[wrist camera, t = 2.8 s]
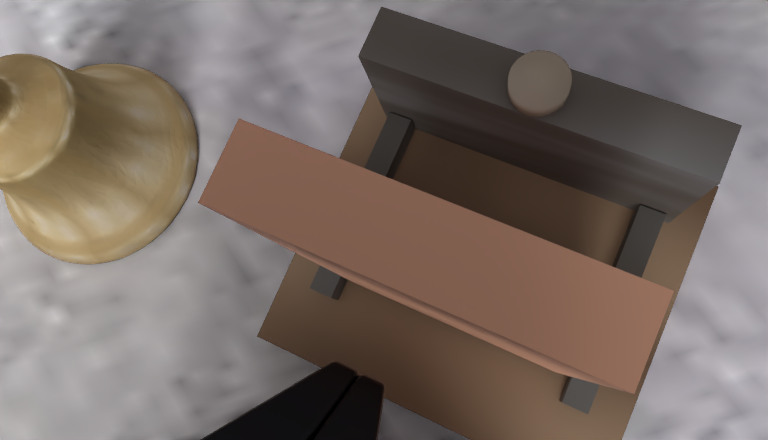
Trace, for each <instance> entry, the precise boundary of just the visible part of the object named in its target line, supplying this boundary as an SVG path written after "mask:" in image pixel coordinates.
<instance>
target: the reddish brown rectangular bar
mask: <svg viewBox="0 0 768 440" xmlns="http://www.w3.org/2000/svg"><path fill="white" fill-rule="evenodd" d="M198 203H200V204H202V205H204V206H206V207H208V208H210V209H211V210H213V211H215V212H217V213H219V214H221V215H223V216H225V217H227V218H229V219H231V220H233V221H235V222H237V223H239V224H241V225H243V226H245V227H246V228H248V229H250V230H252V231H254V232H256V233H258V234H260V235H262V236H264V237H266V238H268V239H270V240H272V241H274V242H276V243H278V244H280V245H281V246H283V247H285V248H287V249H289V250H291V251H293V252H295V253H297V254H299V255H301V256H303V257H305V258H307V259H309V260H311V261H313V262H315V263H316V264H318V265H320V266H322V267H324V268H326V269H328V270H330V271H332V272H334V273H336V274H338V275H340V276H342V277H344V278H346V279H348V280H350V281H351V282H353V283H355V284H358V285H360V286H362V287H364V288H367V289H369V290H371V291H373V292H376V293H378V294H380V295H382V296H385V297H387V298H389V299H391V300H394V301H396V302H398V303H400V304H403V305H405V306H407V307H409V308H412V309H414V310H416V311H418V312H421V313H423V314H425V315H427V316H430V317H432V318H434V319H436V320H439V321H441V322H443V323H445V324H448V325H450V326H452V327H454V328H457V329H459V330H461V331H463V332H466V333H468V334H470V335H472V336H475V337H477V338H479V339H482V340H484V341H486V342H488V343H491V344H493V345H495V346H497V347H500V348H502V349H504V350H506V351H509V352H511V353H513V354H515V355H518V356H520V357H522V358H524V359H527V360H529V361H531V362H533V363H536V364H538V365H540V366H542V367H545V368H547V369H549V370H551V371H554V372H556V373H559V374H563V375H567V376H570V377H574V378H577V379H581V380H585V381H588V382H592V383H596V384H599V385H603V386H607V387H610V388H614V389H618V390H621V391H625V392H628V393H632V394H635V391H636V389H637V386H638V383H639V381H640V378H641V376H642V373H643V370H644V368H645V365H646V363H647V360H648V357H649V355H650V352H651V350H652V347H653V344H654V342H655V339H656V337H657V334H658V331H659V329H660V326H661V323H662V321H663V318H664V316H665V313H666V310H667V308H668V305H669V303H670V300H671V297H672V295H673V292H674V291H673V290H670V289H668V288H665V287H663V286H660V285H658V284H655V283H653V282H650V281H648V280H645V279H643V278H640V277H638V276H635V275H633V274H630V273H628V272H625V271H623V270H620V269H617V268H615V267H612V266H610V265H607V264H605V263H602V262H600V261H597V260H595V259H592V258H590V257H587V256H585V255H582V254H580V253H577V252H575V251H572V250H570V249H567V248H564V247H562V246H559V245H557V244H554V243H552V242H549V241H547V240H544V239H542V238H539V237H537V236H534V235H532V234H529V233H527V232H524V231H522V230H519V229H516V228H514V227H511V226H509V225H506V224H504V223H501V222H499V221H496V220H494V219H491V218H489V217H486V216H484V215H481V214H479V213H476V212H474V211H471V210H469V209H466V208H463V207H461V206H458V205H456V204H453V203H451V202H448V201H446V200H443V199H441V198H438V197H436V196H433V195H431V194H428V193H426V192H423V191H421V190H418V189H416V188H413V187H410V186H408V185H405V184H403V183H400V182H398V181H395V180H393V179H390V178H388V177H385V176H383V175H380V174H378V173H375V172H373V171H370V170H368V169H365V168H362V167H360V166H357V165H355V164H352V163H350V162H347V161H345V160H342V159H340V158H337V157H335V156H332V155H330V154H327V153H325V152H322V151H320V150H317V149H315V148H312V147H309V146H307V145H304V144H302V143H299V142H297V141H294V140H292V139H289V138H287V137H284V136H282V135H279V134H277V133H274V132H272V131H269V130H267V129H264V128H262V127H259V126H256V125H254V124H251V123H249V122H246V121H244V120H241V119H238V122H237V124H236V126H235V128H234V130H233V132H232V134H231V136H230V138H229V140H228V142H227V144H226V146H225V148H224V150H223V152H222V154H221V156H220V159H219V161H218V163H217V165H216V167H215V169H214V171H213V173H212V175H211V177H210V179H209V181H208V183H207V185H206V187H205V189H204V191H203V194H202V196H201V198H200V200H199V202H198Z"/></svg>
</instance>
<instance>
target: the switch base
mask: <svg viewBox="0 0 768 440" xmlns="http://www.w3.org/2000/svg"><path fill="white" fill-rule="evenodd" d="M359 58H360V61H361V63H362V65H363V67H364V69H365V71H366V74H367V76H368V78H369V80H370V82H371V84H372V89H371V91H370V93H369V95H368V97H367V99H366V102H365V104H364V106H363V108H362V110H361V112H360V115H359V117H358V119H357V121H356V123H355V125H354V128H353V130H352V132H351V134H350V136H349V138H348V141H347V143H346V145H345V147H344V149H343V151H342V154H341V156H340V159H342V160H345V161H347V162H350V163H352V164H355V165H357V166H360V167H362V168H365V169H368V170H370V171H373V172H375V173H378V174H380V175H383V176H385V177H388V178H390V179H393V180H395V181H398V182H400V183H403V184H405V185H408V186H410V187H413V188H416V189H418V190H421V191H423V192H426V193H428V194H431V195H433V196H436V197H438V198H441V199H443V200H446V201H448V202H451V203H453V204H456V205H458V206H461V207H463V208H466V209H469V210H471V211H474V212H476V213H479V214H481V215H484V216H486V217H489V218H491V219H494V220H496V221H499V222H501V223H504V224H506V225H509V226H511V227H514V228H516V229H519V230H522V231H524V232H527V233H529V234H532V235H534V236H537V237H539V238H542V239H544V240H547V241H549V242H552V243H554V244H557V245H559V246H562V247H564V248H567V249H570V250H572V251H575V252H577V253H580V254H582V255H585V256H587V257H590V258H592V259H595V260H597V261H600V262H602V263H605V264H607V265H610V266H612V267H615V268H617V269H620V270H623V271H625V272H628V273H630V274H633V275H635V276H638V277H640V278H643V279H645V280H648V281H650V282H653V283H655V284H658V285H660V286H663V287H665V288H668V289H670V290H673V291H674V292H673V295H672V297H671V300H670V303H669V305H668V308H667V310H666V313H665V316H664V318H663V321H662V323H661V326H660V329H659V331H658V334H657V337H656V339H655V342H654V344H653V347H652V350H651V352H650V355H649V357H648V360H647V363H646V365H645V368H644V370H643V373H642V376H641V378H640V381H639V383H638V386H637V389H636V391H635V394H632V393H628V392H625V391H621V390H618V389H614V388H610V387H607V386H603V385H599V384H596V383H592V382H588V381H585V380H581V379H577V378H574V377H570V376H567V375H563V374H559V373H556V372H554V371H551V370H549V369H547V368H545V367H542V366H540V365H538V364H536V363H533V362H531V361H529V360H527V359H524V358H522V357H520V356H518V355H515V354H513V353H511V352H509V351H506V350H504V349H502V348H500V347H497V346H495V345H493V344H491V343H488V342H486V341H484V340H482V339H479V338H477V337H475V336H472V335H470V334H468V333H466V332H463V331H461V330H459V329H457V328H454V327H452V326H450V325H448V324H445V323H443V322H441V321H439V320H436V319H434V318H432V317H430V316H427V315H425V314H423V313H421V312H418V311H416V310H414V309H412V308H409V307H407V306H405V305H403V304H400V303H398V302H396V301H394V300H391V299H389V298H387V297H385V296H382V295H380V294H378V293H376V292H373V291H371V290H369V289H367V288H364V287H362V286H360V285H358V284H355V283H353V282H351V281H350V280H348V279H346V278H344V277H342V276H340V275H338V274H336V273H334V272H332V271H330V270H328V269H326V268H324V267H322V266H320V265H318V264H316V263H315V262H313V261H311V260H309V259H307V258H305V257H303V256H301V255H299V254H297V253H295V255H294V257H293V260H292V262H291V264H290V266H289V268H288V270H287V273H286V275H285V277H284V279H283V281H282V283H281V286H280V288H279V290H278V292H277V294H276V296H275V299H274V301H273V303H272V305H271V307H270V309H269V312H268V314H267V316H266V318H265V320H264V322H263V325H262V327H261V329H260V331H259V333H258V335H257V336H258V337H260V338H262V339H264V340H266V341H268V342H270V343H272V344H274V345H276V346H278V347H280V348H282V349H284V350H287V351H289V352H291V353H293V354H295V355H297V356H299V357H301V358H303V359H305V360H307V361H309V362H311V363H313V364H315V365H318V366H320V367H322V368H323V367H324V366H326V365H328V364H329V363H331V362H334V361H339V362H341V363H343V364H345V365H348V366H350V367H352V368H354V369H356V370H357V371H358V372H359V375H361V374H366V375H368V376H370V377H373V378H375V379H377V380H379V381H381V382H383V383H384V384H385V393H384V398H386V399H388V400H390V401H392V402H394V403H396V404H398V405H400V406H402V407H404V408H406V409H408V410H411V411H413V412H415V413H417V414H419V415H421V416H423V417H425V418H427V419H429V420H431V421H433V422H435V423H437V424H440V425H442V426H444V427H446V428H448V429H450V430H452V431H454V432H456V433H458V434H460V435H462V436H464V437H466V438H468V439H471V440H622V437H623V435H624V432H625V430H626V427H627V424H628V422H629V419H630V416H631V414H632V411H633V409H634V406H635V403H636V401H637V398H638V396H639V393H640V390H641V388H642V385H643V383H644V380H645V377H646V375H647V372H648V369H649V367H650V364H651V362H652V359H653V356H654V354H655V351H656V349H657V346H658V343H659V341H660V338H661V336H662V333H663V330H664V328H665V325H666V323H667V320H668V317H669V315H670V312H671V309H672V307H673V304H674V302H675V299H676V296H677V294H678V291H679V289H680V286H681V283H682V281H683V278H684V276H685V273H686V270H687V268H688V265H689V262H690V260H691V257H692V255H693V252H694V249H695V247H696V244H697V242H698V239H699V236H700V234H701V231H702V229H703V226H704V223H705V221H706V218H707V216H708V213H709V210H710V208H711V205H712V202H713V200H714V197H715V195H716V192H717V189H718V186H717V185H718V184H719V183H720V181H721V178H722V176H723V173H724V170H725V168H726V165H727V163H728V160H729V157H730V155H731V152H732V150H733V147H734V144H735V142H736V139H737V137H738V134H739V131H740V129H741V126H742V125H739V124H736V123H733V122H730V121H727V120H724V119H721V118H718V117H715V116H711V115H708V114H705V113H702V112H699V111H696V110H693V109H690V108H687V107H684V106H681V105H678V104H675V103H672V102H669V101H666V100H663V99H660V98H657V97H654V96H651V95H648V94H645V93H642V92H639V91H636V90H633V89H630V88H627V87H623V86H620V85H617V84H614V83H611V82H608V81H605V80H602V79H599V78H596V77H593V76H590V75H587V74H584V73H581V72H578V71H575V70H572V69H570V68H569V66H568V64H567V63H566V62H565V60H564V59H563V58H561V57H560V56H559V55H557V54H555V53H552V52H549V51H543V50H539V51H532V52H529V53H526V54H523V53H520V52H517V51H514V50H511V49H508V48H505V47H502V46H499V45H496V44H493V43H490V42H487V41H484V40H481V39H478V38H475V37H472V36H469V35H466V34H463V33H460V32H457V31H453V30H450V29H447V28H444V27H441V26H438V25H435V24H432V23H429V22H426V21H423V20H420V19H417V18H414V17H411V16H408V15H405V14H402V13H399V12H396V11H393V10H390V9H387V8H384V7H381V9H380V11H379V13H378V15H377V17H376V19H375V22H374V24H373V26H372V28H371V30H370V32H369V34H368V37H367V39H366V41H365V43H364V45H363V47H362V49H361V51H360V54H359Z"/></svg>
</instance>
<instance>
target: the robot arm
mask: <svg viewBox="0 0 768 440" xmlns="http://www.w3.org/2000/svg"><path fill="white" fill-rule="evenodd" d="M384 393H385V384H384V383H383V382H381V381H379V380H377V379H375V378H373V377H370V376H368V375H366V374H361V375H359V372H358V371H357V370H356V369H354V368H352V367H350V366H348V365H345V364H343V363H341V362H339V361H334V362H331V363H329V364H328V365H326V366H324V367H323V368H321V369H319V370H318V371H316V372H314V373H312V374H311V375H309V376H307V377H306V378H304V379H302V380H301V381H299V382H297V383H295V384H294V385H292V386H290V387H289V388H287V389H285V390H284V391H282V392H280V393H279V394H277V395H275V396H273V397H272V398H270V399H268V400H267V401H265V402H263V403H262V404H260V405H258V406H257V407H255V408H253V409H251V410H250V411H248V412H246V413H245V414H243V415H241V416H240V417H238V418H236V419H235V420H233V421H231V422H229V423H228V424H226V425H224V426H223V427H221V428H219V429H218V430H216V431H214V432H213V433H211V434H209V435H207V436H206V437H204V438H202V439H201V440H378V434H379V427H380V420H381V414H382V407H383V400H384Z"/></svg>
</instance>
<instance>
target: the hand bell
mask: <svg viewBox="0 0 768 440" xmlns="http://www.w3.org/2000/svg"><path fill="white" fill-rule="evenodd" d="M197 160H198V142H197V134H196V129H195V124H194V121H193V118H192V116H191V113H190V111H189V109H188V107H187V105H186V104H185V102H184V100H183V99H182V98H181V96H180V95H179V94H178V92H177V91H176V90H175V89H174V88H173V87H172V86H171V85H170V84H169V83H167V82H166V81H165V80H163V79H162V78H161V77H159V76H157V75H156V74H154V73H152V72H150V71H148V70H145V69H143V68H139V67H136V66H131V65H124V64H98V65H92V66H86V67H83V68H79V69H77V70H74V71H72V70H70V69H67V68H65V67H63V66H61V65H59V64H57V63H55V62H53V61H51V60H49V59H47V58H44V57H41V56H37V55H32V54H12V55H6V56H3V57H0V189H1V190H3V193H4V197H5V201H6V204H7V207H8V210H9V212H10V214H11V216H12V218H13V220H14V222H15V223H16V225H17V226H18V228H19V230H20V231H21V232H22V233H23V235H24V236H25V237H26V238H27V239H28V240H29V241H30V242H31V243H32V244H33V245H34V246H35V247H37V248H38V249H39V250H41V251H42V252H44V253H46V254H48V255H50V256H52V257H54V258H57V259H59V260H62V261H66V262H70V263H78V264H98V263H104V262H110V261H113V260H117V259H120V258H123V257H126V256H128V255H130V254H132V253H134V252H136V251H138V250H140V249H141V248H143V247H145V246H146V245H147V244H149V243H151V242H152V241H153V240H154V239H155V238H157V237H158V236H159V235H160V234H161V233H162V232H163V231H164V230H165V229H166V228H167V227H168V226H169V224H170V223H171V222H172V221H173V219H174V218H175V216H176V215H177V214H178V212H179V211H180V209H181V208H182V206H183V204H184V202H185V200H186V199H187V196H188V194H189V191H190V189H191V187H192V185H193V182H194V179H195V174H196V166H197Z"/></svg>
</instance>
